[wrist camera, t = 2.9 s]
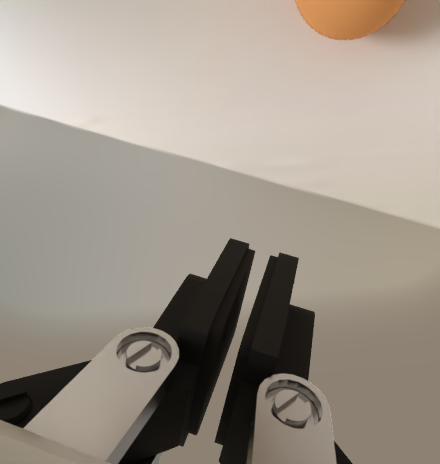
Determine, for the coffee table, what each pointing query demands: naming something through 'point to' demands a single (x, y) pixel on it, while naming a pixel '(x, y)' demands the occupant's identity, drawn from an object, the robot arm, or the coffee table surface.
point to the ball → (347, 16)
